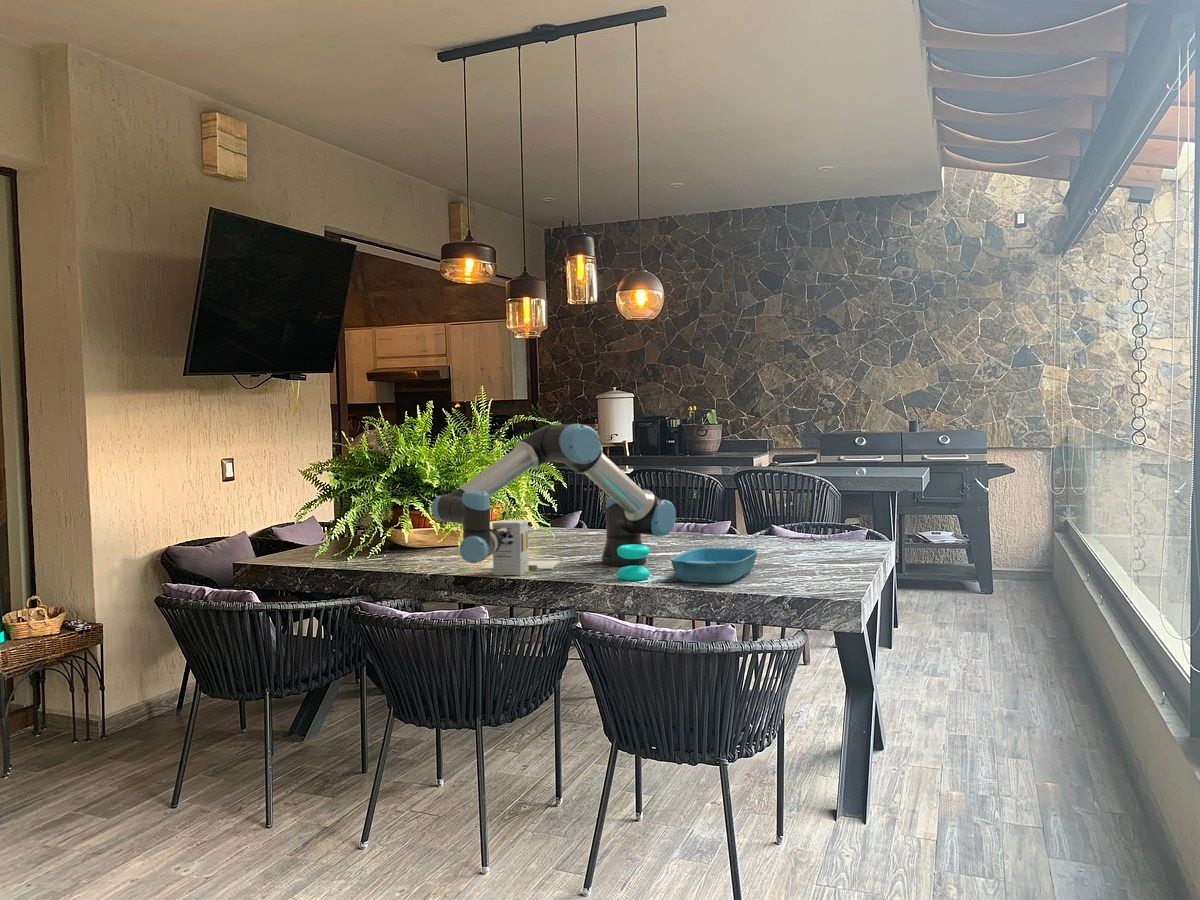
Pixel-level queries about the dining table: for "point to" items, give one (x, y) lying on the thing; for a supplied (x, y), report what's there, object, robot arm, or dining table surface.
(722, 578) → the casserole dish
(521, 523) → the supplement box
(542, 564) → the mat
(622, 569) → the donuts
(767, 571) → the dining table surface
